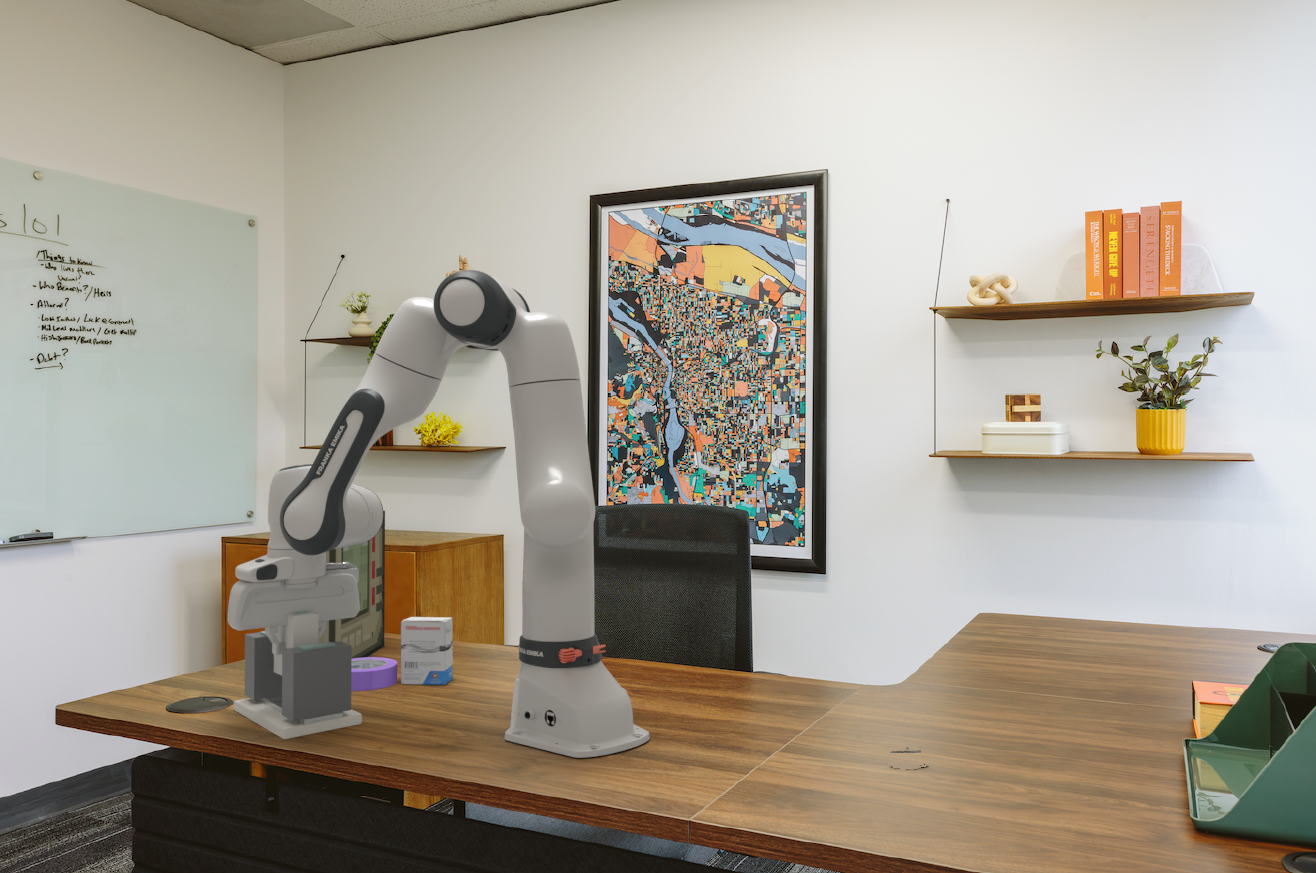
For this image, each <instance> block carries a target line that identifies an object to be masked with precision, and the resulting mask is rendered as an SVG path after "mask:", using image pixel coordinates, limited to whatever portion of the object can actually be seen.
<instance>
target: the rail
mask: <svg viewBox="0 0 1316 873" xmlns="http://www.w3.org/2000/svg"><path fill="white" fill-rule="evenodd" d="M257 700H258V701H260V702H262V703H264V704H266V705H268V706H269V707H271V708H273V709H275V710H277V711H279V712H281V713H282V695H281V696H275V697H269V698H263V699H257ZM339 718H343V712H338V713H333V714H328V715H322V716H317V717H312V718H307V719H301V720H296V721H297V722H299V723H301V724H303V725H308V724H313V723H318V722H324V721H329V720H334V719H339Z"/></svg>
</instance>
